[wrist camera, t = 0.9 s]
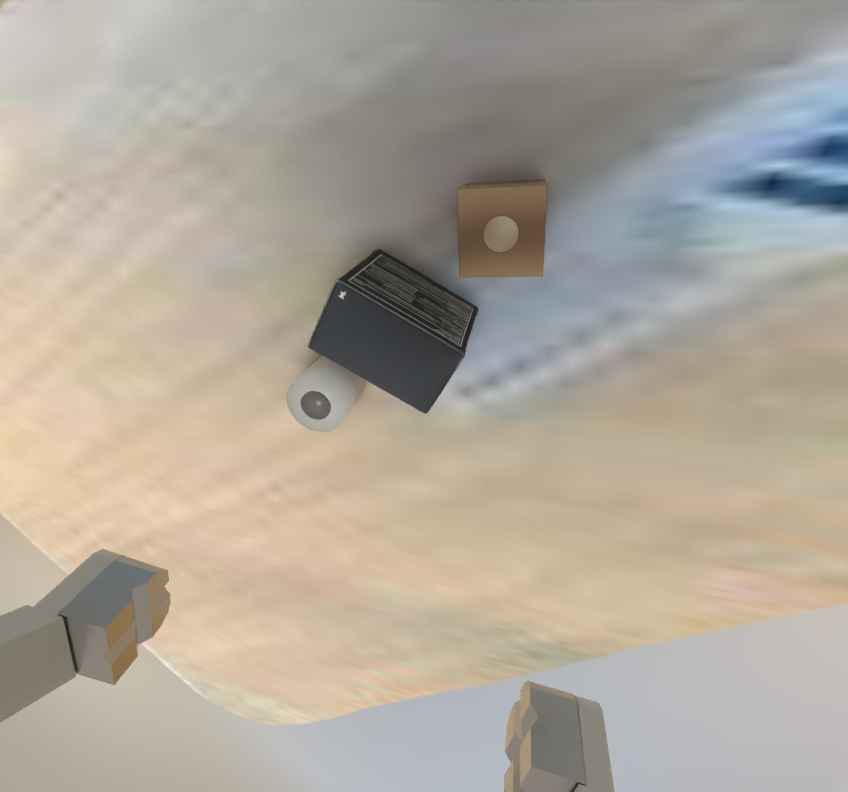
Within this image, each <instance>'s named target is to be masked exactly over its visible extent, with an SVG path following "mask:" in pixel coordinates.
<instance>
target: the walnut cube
mask: <svg viewBox="0 0 848 792" xmlns="http://www.w3.org/2000/svg"><path fill="white" fill-rule="evenodd" d="M457 198H458V238H459V277H525V276H543V261H544V242H545V223H546V204H547V183H546V181H545V180H529V181H509V182H490V183H471V184H466V185H464V186H462V187H461V188H459V189H458V190H457Z"/></svg>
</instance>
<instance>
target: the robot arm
mask: <svg viewBox="0 0 848 792" xmlns="http://www.w3.org/2000/svg"><path fill="white" fill-rule="evenodd" d="M168 581H169V576H168V570H166V569H163V568H160V567H157V566H154V565H151V564H147V563H144V562H141V561H138V560H135V559H132V558H129V557H126V556H124V555H121V554H117V553H114V552H111V551H108V550H104V549H102V550H100V551H97V552H95V553H93V554H92V555H91V556H90V557H89V558H88V559H86V560H85V561H84V562H83V563H82V564H81V565H80V566H79V567H78V568H76V569H75V570H74V571H73V572H72V573H71V574H70V575H69V576H68V577H66V578H65V579H64V580H63V581H62V582H61V583H60V584H58V585H57V586H56V587H55V588H54V589H53V590H52V591H51V592H50V593H48V594H47V595H46V596H45V597H44V598H43V599H42V600H41V601H39V602H38V603H37V604H36V605H35V606H34V607H31V606H28V605H26V606H24V607H21V608H19V609H16V610H14V611H11V612H9V613H6V614H4V615H2V616H0V722H2V721H4V720H5V719H7V718H9V717H10V716H12V715H14V714H15V713H17V712H19V711H20V710H22V709H23V708H25V707H27V706H28V705H30V704H31V703H33V702H35V701H37V700H38V699H40V698H41V697H43V696H45V695H46V694H48V693H50V692H51V691H53V690H55V689H56V688H58V687H59V686H61V685H63V684H65V683H66V682H68V681H69V680H71V679H73V678H74V677H76V674H79V675H82V676H86V677H89V678H93V679H96V680H99V681H103V682H106V683H110V684H112V685H115V684H116V682H117V681H118V680H119V679H120V677H121V676H122V675H123V674H124V672H125V671H126V670H127V669H128V667H129V666H130V665H131V663H132V662H133V661H134V660H135V658H136V657H137V655H138V644H140V643H142V642H144V641H146V640H148V639H150V638H152V637H153V636H154V634H155V633H156V632H157V630H158V629H159V628H160V626H161V625H162V623H163V621H164V619H165V617H166V615H167V613H168V610H169V606H170V594H169V592H168V591H167V590H166V588H165V587H164V586H165V585H166V584H167V582H168ZM505 752H506V754H507V756H508V758H509V760H510V762H511V765H510V767H509V768H508V770H507V772H506V774H505V778H504V792H614V786H613V779H612V772H611V765H610V758H609V752H608V745H607V739H606V732H605V725H604V719H603V712H602V708H601V706H600V704H599V703H597V702H595V701H592V700H588V699H585V698H581V697H578V696H574V695H573V694H571V693H567V692H564V691H560V690H557V689H554V688H550V687H547V686H543V685H540V684H536V683H533V682H529V681H527V682H525V683H524V685H523V687H522V689H521V700H520V701H517V702H515V703H514V705H513V708H512V710H511V712H510V716H509V720H508V725H507V733H506V747H505Z"/></svg>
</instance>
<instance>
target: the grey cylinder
mask: <svg viewBox="0 0 848 792" xmlns="http://www.w3.org/2000/svg"><path fill="white" fill-rule="evenodd" d="M365 385H366V380H365V379H363V378H361V377H360V376H358V375H356V374H354V373H353V372H351V371H349V370H347V369H345V368H344V367H342V366H340V365H338V364H337V363H335V362H333V361H331V360H329V359H328V358H326V357H324V356H322V355H321V356H320V357H319V358H318V359H317V360H316V361H315V362H314V363H313V364H312V365H311V366H310V367H309V368H308V369H307V370H306V371H305V372H304V373H303V374H302V375H301V376H300V377H299V378H298V379H297V380H296V381H295V382H294V383H293V384H292V385H291V386H290V388H289V390H288V393H287V404H288V408H289V410H290V412H291V414H292V415H293V417H294V418H295V419H296V420H297V421H298V422H299V423H300V424H301V425H303V426H304V427H306V428H308V429H311V430H314V431H319V432H326V431H331V430H333V429H335V428H337V427H338V426H339V425H340V424H341V423H342V422H343V420H344V419H345V418H346V416H347V415H348V413H349V412H350V410H351V409H352V407H353V406H354V404H355V403H356V401H357V400H358V398H359V397H360V396H361V394H362V392H363V391H364V388H365Z"/></svg>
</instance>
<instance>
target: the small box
mask: <svg viewBox="0 0 848 792" xmlns="http://www.w3.org/2000/svg"><path fill="white" fill-rule="evenodd" d="M477 313H478V308H477V307H475V306H473V305H471V304H470V303H468V302H467V301H465V300H463V299H462V298H460V297H458V296H457V295H455V294H453V293H452V292H450V291H448V290H447V289H446V288H443V287H442V286H440V285H438V284H437V283H435V282H433V281H432V280H430V279H428V278H427V277H425V276H423V275H422V274H420V273H419V272H417V271H415V270H413V269H412V268H410V267H408V266H407V265H405V264H403V263H402V262H400V261H398V260H396V259H395V258H393V257H391V256H389V255H388V254H386V253H384V252H383V251H381V250H380V249H378V250H375V251H373V253H372V254H371V255H370V256H369V257H367V258H366V259H365V260H363V261H362V262H361V263H360V264H358V265H357V266H356V267H354V268H353V269H352V270H350V271H349V272H348V273H347V274H345V275H344V276H343V277H341V278H339V279H337V280H335V282H334V285H333V288H332V290H331V292H330V294H329V297H328V299H327V301H326V304H325V306H324V308H323V311H322V313H321V316H320V318H319V320H318V322H317V325H316V327H315V329H314V332H313V334H312V336H311V339H310V340H309V343H308V347H309V348H310V349H312V350H314V351H315V352H317V353H319V354H321V355H322V356H324V357H326V358H328V359H329V360H331V361H333V362H335V363H337V364H338V365H340V366H342V367H344V368H345V369H347V370H349V371H351V372H353V373H354V374H356V375H358V376H360V377H361V378H363V379H365V380H367V381H368V382H370V383H372V384H374V385H375V386H377V387H379V388H381V389H382V390H384V391H386V392H388V393H389V394H391V395H393V396H395V397H397V398H398V399H400V400H402V401H404V402H405V403H407V404H409V405H410V406H412V407H414V408H416V409H417V410H419V411H421V412H423V413H425V414H426V413H428V411H429V410H430V408H431V407H432V406H433V404H434V403H435V401H436V400H437V398H438V397H439V395H440V394H441V392H442V391H443V389H444V387H445V386H446V384H447V383H448V381H449V380H450V378H451V377H452V375H453V373H454V372H455V370H456V369H457V367H458V366H459V364H460V362H461V361H462V359H463V358H464V356H465V352H466V346H467V342H468V339H469V336H470V334H471V330H472V326H473V323H474V320H475V317H476V315H477Z"/></svg>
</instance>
